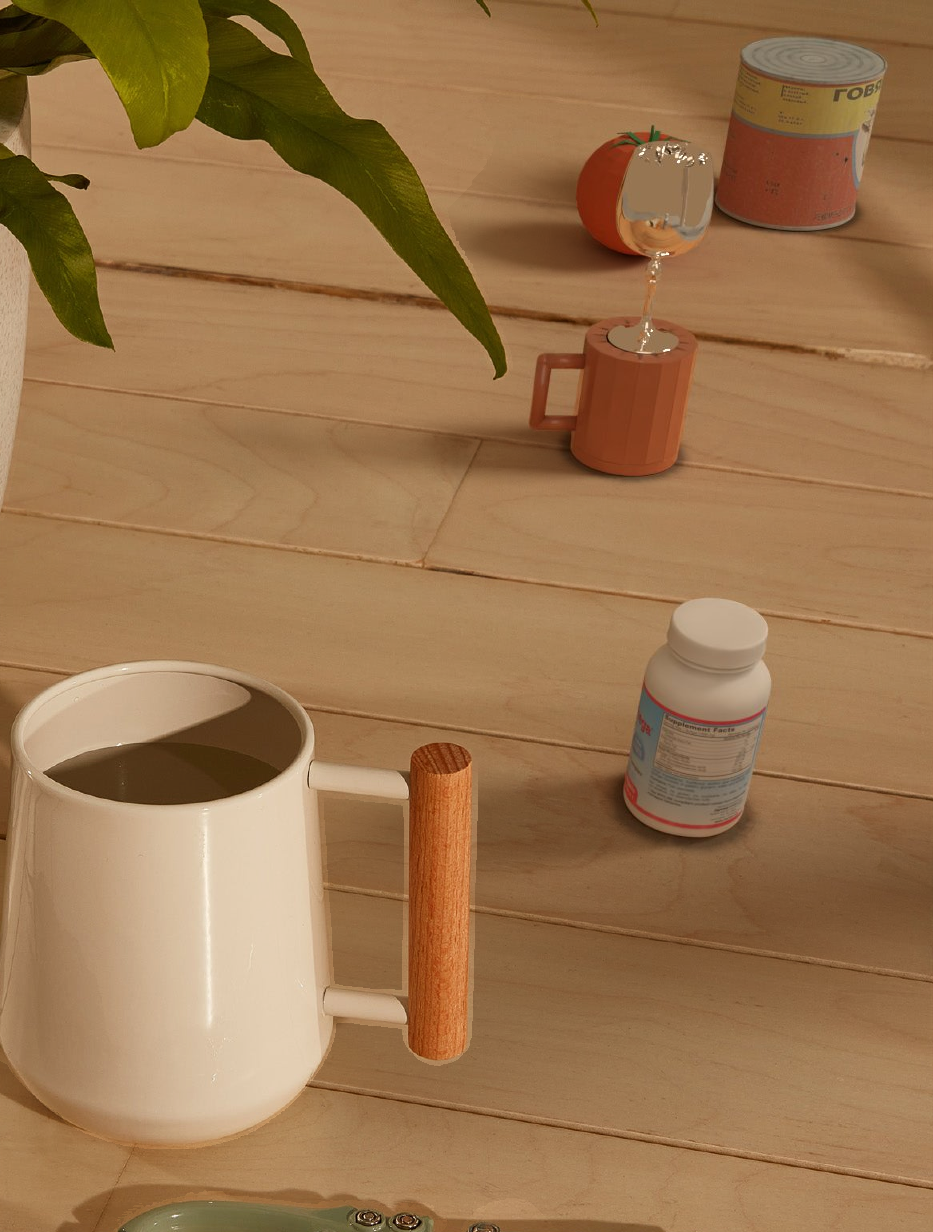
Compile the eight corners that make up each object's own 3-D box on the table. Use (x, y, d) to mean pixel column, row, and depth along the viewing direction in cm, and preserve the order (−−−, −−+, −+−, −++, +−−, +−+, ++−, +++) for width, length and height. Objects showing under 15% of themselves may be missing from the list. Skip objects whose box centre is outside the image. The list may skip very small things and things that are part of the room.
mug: (667, 427, 139) (686, 316, 134) (685, 477, 133) (706, 363, 128) (519, 425, 139) (533, 314, 134) (531, 474, 133) (546, 361, 129)
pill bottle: (638, 759, 109) (672, 577, 102) (753, 789, 106) (796, 605, 99) (607, 823, 104) (640, 637, 97) (727, 855, 102) (770, 668, 95)
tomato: (634, 216, 168) (653, 94, 162) (727, 257, 161) (750, 131, 155) (541, 244, 164) (557, 119, 158) (632, 287, 157) (653, 158, 151)
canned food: (849, 238, 164) (882, 87, 157) (706, 221, 167) (732, 72, 160) (859, 189, 173) (891, 44, 165) (723, 173, 176) (748, 30, 168)
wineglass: (582, 344, 130) (608, 158, 123) (619, 313, 134) (647, 131, 127) (667, 366, 128) (699, 178, 120) (703, 334, 132) (736, 149, 124)
